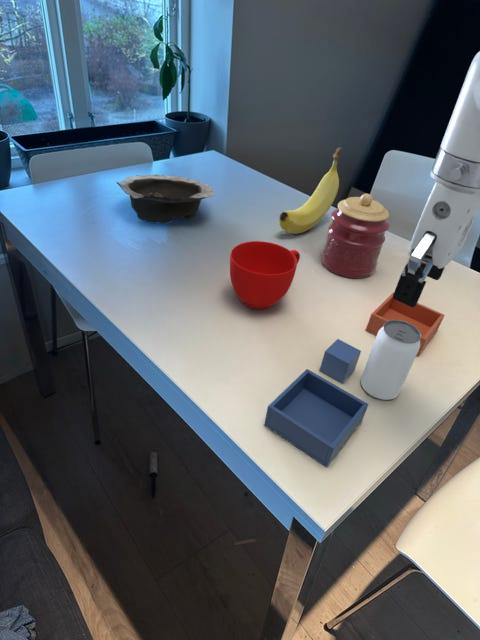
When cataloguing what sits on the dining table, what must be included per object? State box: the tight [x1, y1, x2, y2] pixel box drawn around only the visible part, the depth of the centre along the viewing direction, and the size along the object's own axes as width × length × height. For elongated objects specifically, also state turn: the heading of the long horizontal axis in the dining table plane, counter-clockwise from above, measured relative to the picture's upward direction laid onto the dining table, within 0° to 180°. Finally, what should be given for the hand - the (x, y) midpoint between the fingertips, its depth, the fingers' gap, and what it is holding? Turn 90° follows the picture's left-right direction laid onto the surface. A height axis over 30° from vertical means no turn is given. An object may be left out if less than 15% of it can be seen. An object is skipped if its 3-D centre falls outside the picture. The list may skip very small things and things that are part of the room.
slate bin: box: [263, 368, 370, 468], centre depth 65 cm, size 11×11×4 cm
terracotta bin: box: [365, 291, 446, 357], centre depth 87 cm, size 11×11×4 cm
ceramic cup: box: [229, 240, 301, 310], centre depth 89 cm, size 13×17×10 cm
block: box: [319, 338, 362, 384], centre depth 75 cm, size 4×4×4 cm
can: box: [360, 320, 421, 401], centre depth 71 cm, size 6×6×12 cm
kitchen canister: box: [321, 193, 391, 279], centre depth 102 cm, size 13×13×18 cm
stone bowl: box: [116, 174, 215, 224], centre depth 118 cm, size 25×25×9 cm
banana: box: [278, 146, 343, 235], centre depth 115 cm, size 23×6×20 cm, turn 138°
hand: (416, 288), depth 64 cm, fingers open, 9 cm apart
